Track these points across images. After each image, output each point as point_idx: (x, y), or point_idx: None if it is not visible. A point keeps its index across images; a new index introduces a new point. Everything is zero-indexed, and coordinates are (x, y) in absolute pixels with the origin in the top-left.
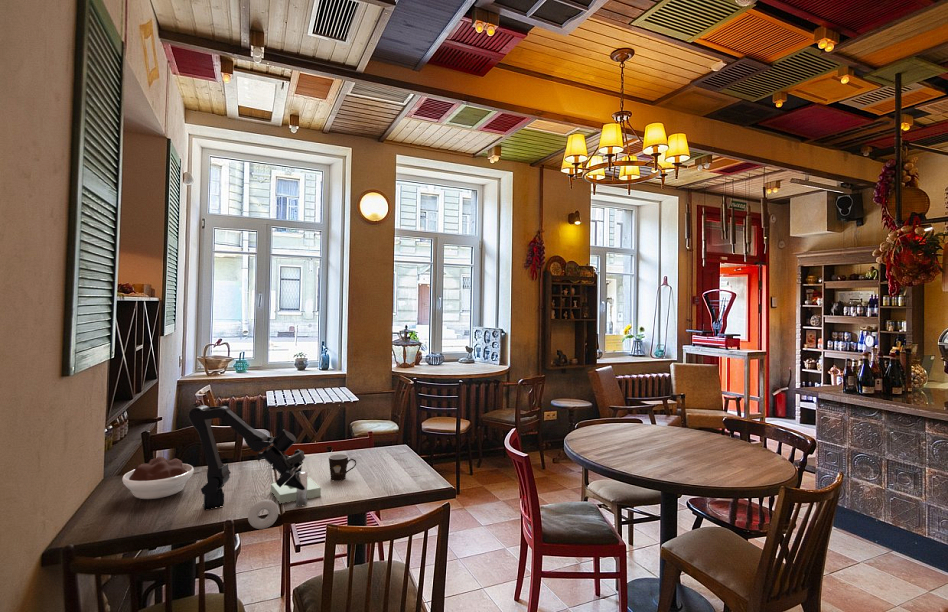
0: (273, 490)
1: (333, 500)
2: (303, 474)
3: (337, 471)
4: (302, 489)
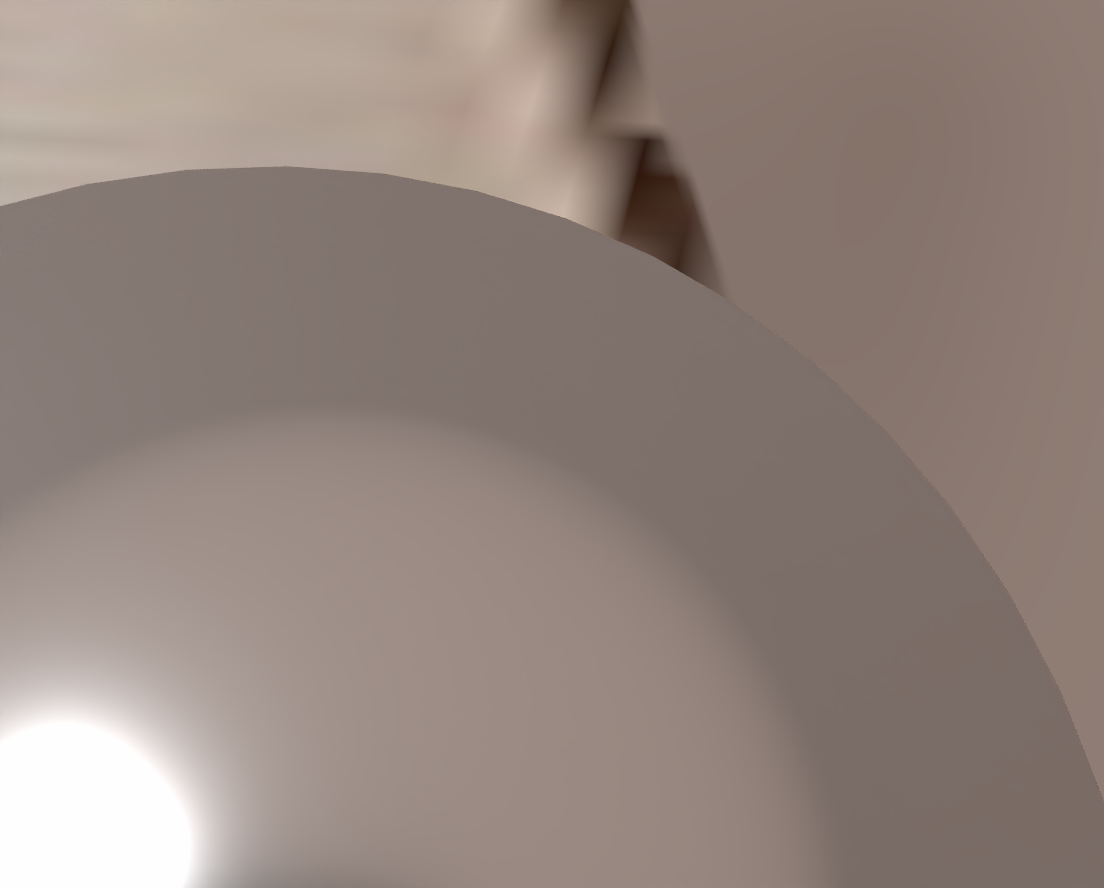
0: None
1: (360, 85)
2: (994, 701)
3: None
4: None
